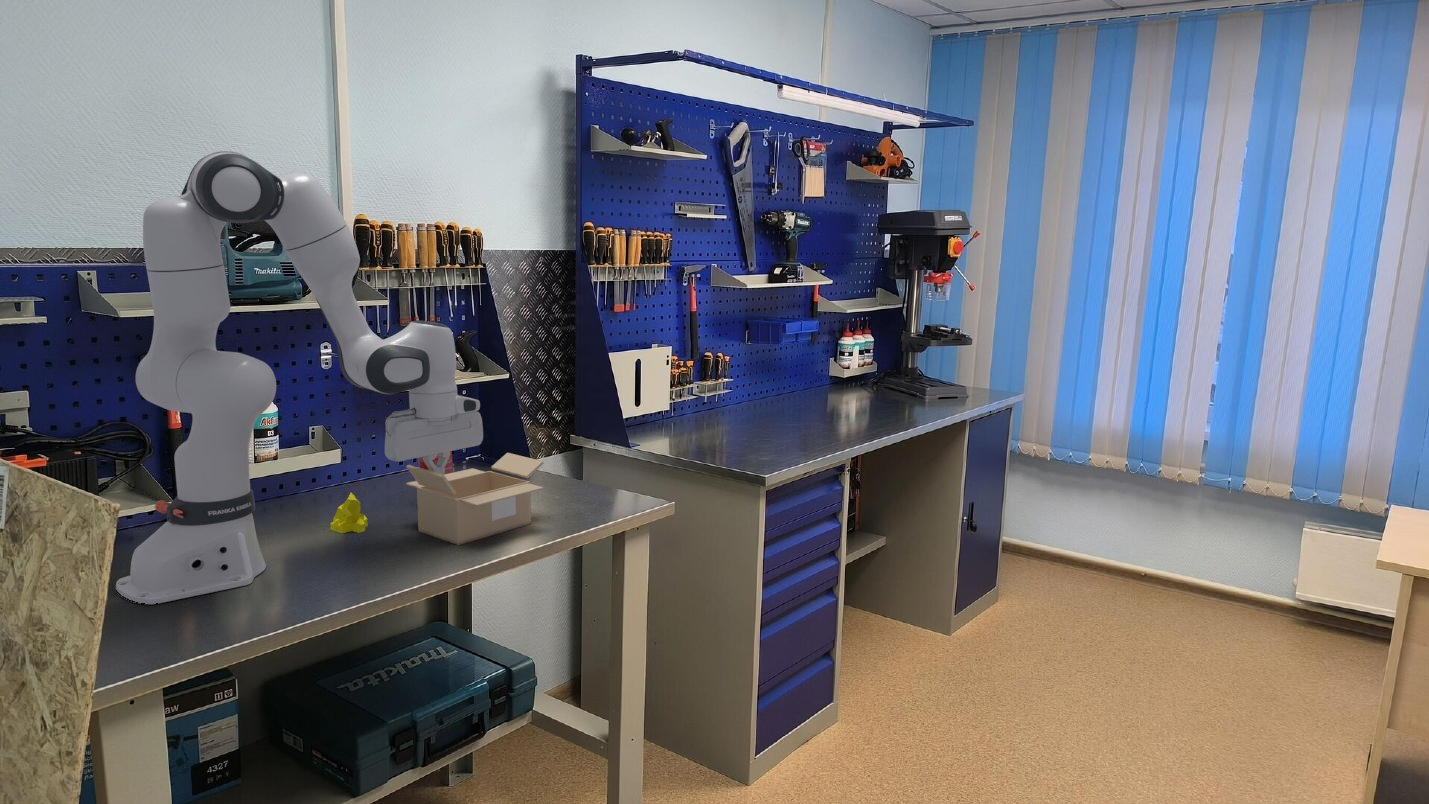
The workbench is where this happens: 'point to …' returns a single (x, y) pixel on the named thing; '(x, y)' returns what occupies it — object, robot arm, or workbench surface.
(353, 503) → the yellow jagged lump
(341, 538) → the workbench surface
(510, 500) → the carton
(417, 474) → the near flap
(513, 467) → the far flap
